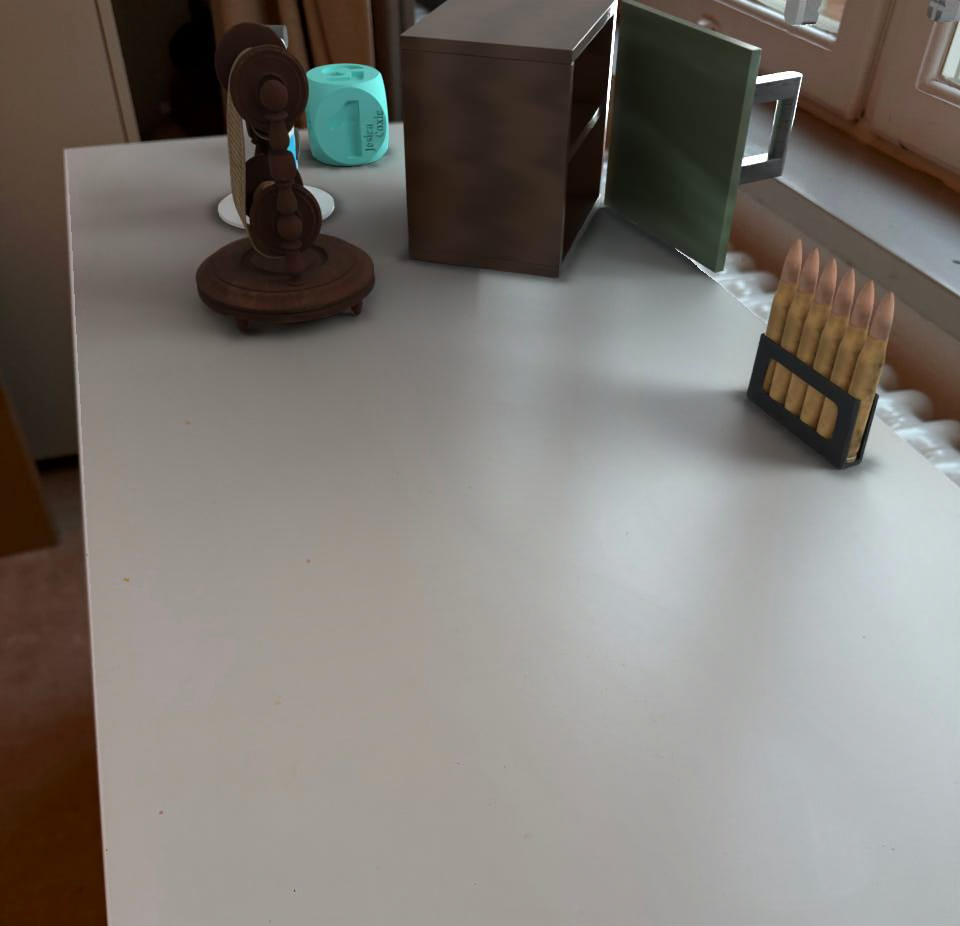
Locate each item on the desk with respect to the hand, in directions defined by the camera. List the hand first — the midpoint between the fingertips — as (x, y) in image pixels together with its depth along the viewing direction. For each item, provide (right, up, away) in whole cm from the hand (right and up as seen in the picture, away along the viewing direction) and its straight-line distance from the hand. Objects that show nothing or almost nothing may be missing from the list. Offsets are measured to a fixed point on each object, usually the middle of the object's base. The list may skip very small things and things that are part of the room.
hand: (871, 21), depth 63 cm
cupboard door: (-4, +1, +35) cm, 36 cm away
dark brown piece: (-40, -9, +24) cm, 48 cm away
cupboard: (-21, +1, +35) cm, 41 cm away
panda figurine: (-44, +4, +39) cm, 59 cm away
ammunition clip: (-1, -23, +10) cm, 25 cm away
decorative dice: (-38, +15, +50) cm, 65 cm away
